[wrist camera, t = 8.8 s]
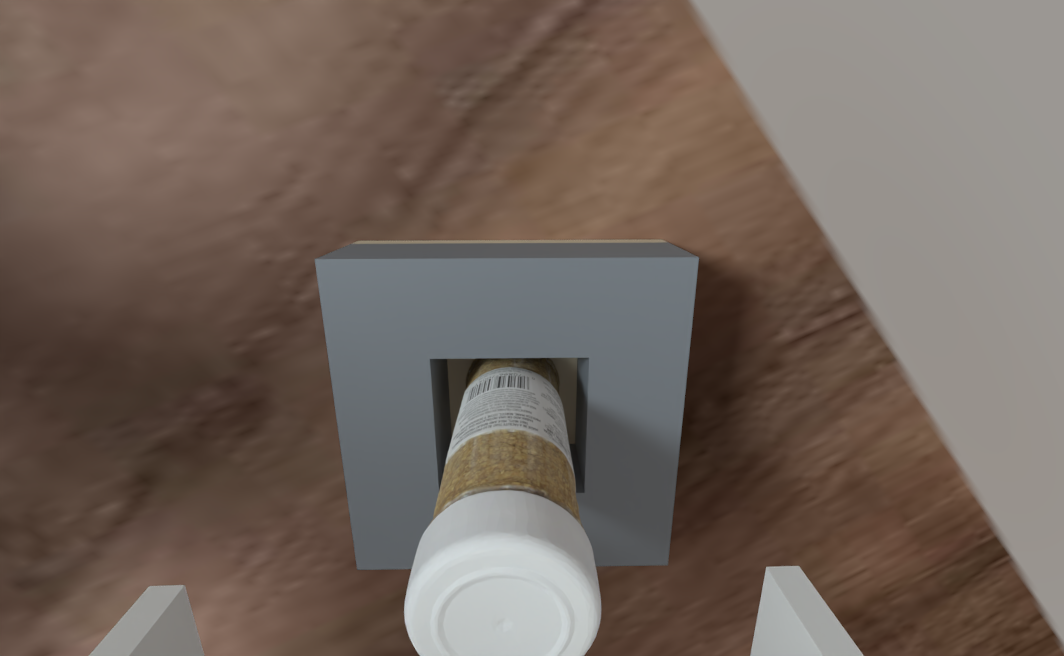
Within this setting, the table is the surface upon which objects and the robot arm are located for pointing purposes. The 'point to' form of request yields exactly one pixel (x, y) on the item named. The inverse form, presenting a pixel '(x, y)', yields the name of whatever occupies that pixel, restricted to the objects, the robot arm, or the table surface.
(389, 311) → the socket block
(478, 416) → the sprinkles bottle
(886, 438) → the table surface
